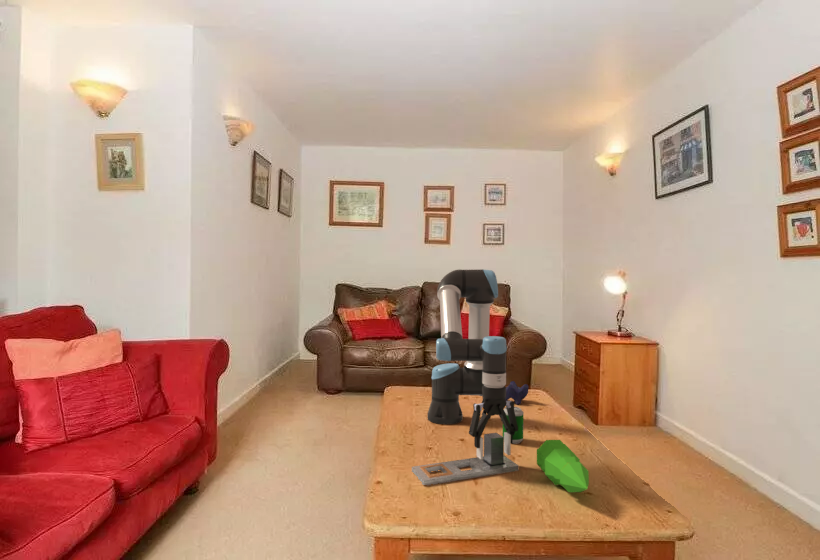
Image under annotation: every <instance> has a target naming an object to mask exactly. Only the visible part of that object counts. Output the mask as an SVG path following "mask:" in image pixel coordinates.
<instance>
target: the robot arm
mask: <svg viewBox="0 0 820 560" xmlns="http://www.w3.org/2000/svg"><path fill="white" fill-rule="evenodd" d="M436 294H437V295H436V297H437V299H438V301H439V309H440V311H439V312H440V336H441V337H440V338H437V339H436V341H435V350H436V351H435V353H436V356H435V357H436V358H435V359H437V360H438V361H444V362H450V363H443V364H438V365H436V366H434V367H433V368H432V369H431V370H432V371H431V402H430V405H429V408H428V411H427V414H426V415H427V418H428V419H427V421H428V422H431V423H433V424H439V425H455V424H459V423H462V422H463V419H464V418H463V417H464V415H463V411H462V407H461V404H460V402H459V401H460V397H459V396H479V397H482V400H481V403H477V402H476V403H475V402H474V403H473V405H472V406H473V407H472V408H473V412H472V416H471V421H470V425H469V429H468V434H469V435H470V436H471V437H473V438H474V439H473V441H474V445H473V446H474V447H475V448H476V457H478V458H479V459H483V456H484V437H482V435H483V432H484V430H485V429H486V426H487V424H488V421H489V420H490V419H491V417H492V416H493V417H494V416H498V417H499V419H500V421H501V423H502V426H503V425H504V427H505V429H506V431H507V432H504V454H506V455H508V456H511V450H512V449H511V447H512V445H513V444H512V442H513V435H514V434H515V431H516V432H517V431H518V426H517V421H516V416H515V412H514V407H515V401H512V400H510V399H508V400H507V401H506V400H505V398H506V387H507V386H506V385H507V350H508V347H507V339H506V338H505V337H503V336H496V335H492V336H491V335H490V315H491V313H490V311H491V306H492V305H493V304H494V303H495V301H494V300H495V299H497V298H498V297H499V287H498V279H497V275H496V273H495V271H493V270H491V269H455V270H451V271H450V272H448V273H447V274H446V275H444V276H443V277H442V279H441V280H440V281H439V284H438V286H437V290H436ZM462 298H464V299H465V302H466V304H467V305H468V306H469V307H468V338H463V331H462V330H463V329H462V318H461V308H460V306H461V305H460V299H462ZM451 362H464V364H463V367H460V365H459V363H451ZM506 407H507V412H508V417H509V421H510V423H509V421H508V419H507V417H506V413H505V411H504V409H505V408H506ZM482 410H483V411H482Z"/></svg>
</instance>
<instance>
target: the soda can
mask: <svg viewBox="0 0 820 560" xmlns="http://www.w3.org/2000/svg"><path fill="white" fill-rule="evenodd" d="M504 411H505V413H506V417H507V419H508V421H509V417H508V412H507V407H506V406H505V408H504ZM514 412H515V416H516V421H517V426H518V431H517V432H516V431H515V434H514V435H513V442H512V444H511V445H514V444H515V445H517V444H520V443H521V442H522V441H523V440H524V411H523V410H522V408H520V407H519V406H514ZM509 423H510V421H509ZM504 432H507V431H506V429H505V427H504V425H503V424H502V436H503V437H504Z"/></svg>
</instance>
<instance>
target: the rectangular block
mask: <svg viewBox="0 0 820 560" xmlns="http://www.w3.org/2000/svg"><path fill="white" fill-rule="evenodd" d="M483 456H484V462H485V463H486V464H488V465H489V466H497V465H503V464H504V456H505V453H504V437H503V435H501V434H499V433H498V432H490V433H484V434H483Z"/></svg>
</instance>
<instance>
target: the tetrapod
mask: <svg viewBox="0 0 820 560" xmlns="http://www.w3.org/2000/svg"><path fill="white" fill-rule="evenodd" d="M505 387H506V398H505V400H506V401H508V400H510V399H512V400H513V402H514V404H515V405H518V406H519V405H521V403H522V401H523V400H524V399H526V397H527V396H528V393H529V389H530V388H529V387H530V386H529V385H528V384H527V383H526V384H523V385H522V386H521V387H520V386H518V385H517V383H516V382H515V381H514V380H513V381H510V382H509V384H508V386H505Z"/></svg>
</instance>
